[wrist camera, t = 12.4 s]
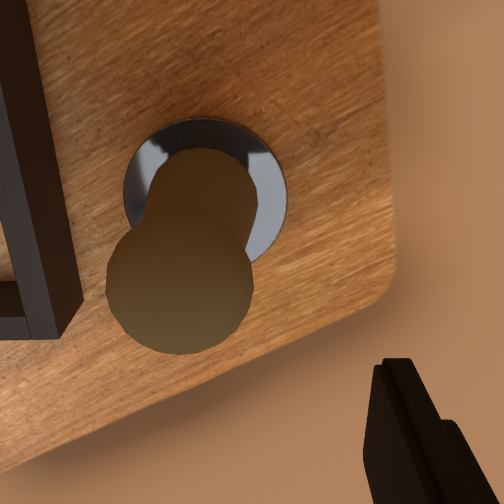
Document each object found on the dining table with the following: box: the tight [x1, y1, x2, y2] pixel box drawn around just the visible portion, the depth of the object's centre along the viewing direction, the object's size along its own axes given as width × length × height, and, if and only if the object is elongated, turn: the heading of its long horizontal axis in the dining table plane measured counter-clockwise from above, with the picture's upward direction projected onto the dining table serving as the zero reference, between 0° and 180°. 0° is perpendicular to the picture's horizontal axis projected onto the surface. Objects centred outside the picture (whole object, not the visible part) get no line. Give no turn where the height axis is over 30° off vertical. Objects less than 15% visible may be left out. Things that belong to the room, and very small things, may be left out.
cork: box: [106, 147, 258, 355], centre depth 19 cm, size 6×6×11 cm
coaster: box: [123, 117, 287, 263], centre depth 25 cm, size 9×9×1 cm
